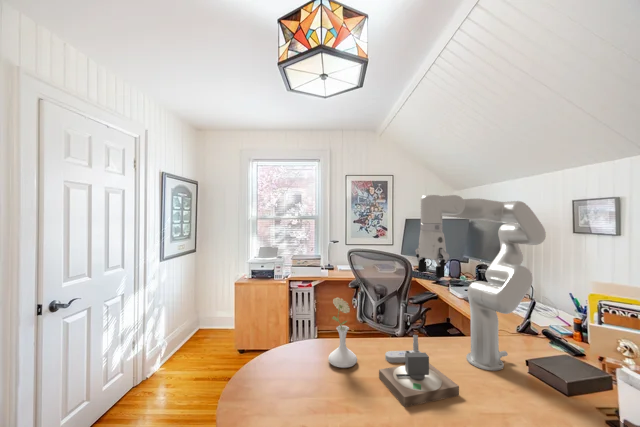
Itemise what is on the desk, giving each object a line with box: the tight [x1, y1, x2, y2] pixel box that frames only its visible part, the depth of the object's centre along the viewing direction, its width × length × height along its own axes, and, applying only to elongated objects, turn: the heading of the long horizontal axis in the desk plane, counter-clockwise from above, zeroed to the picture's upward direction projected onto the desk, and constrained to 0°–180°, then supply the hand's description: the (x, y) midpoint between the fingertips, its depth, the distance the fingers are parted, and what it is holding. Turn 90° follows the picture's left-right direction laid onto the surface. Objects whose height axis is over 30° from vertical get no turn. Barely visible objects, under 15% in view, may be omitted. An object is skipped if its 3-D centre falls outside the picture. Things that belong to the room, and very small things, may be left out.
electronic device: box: [384, 334, 423, 364], centre depth 113 cm, size 5×10×15 cm
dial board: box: [378, 362, 460, 408], centre depth 95 cm, size 20×16×3 cm
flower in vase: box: [327, 297, 358, 369], centre depth 111 cm, size 13×11×25 cm
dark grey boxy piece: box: [396, 352, 430, 380], centre depth 95 cm, size 10×5×7 cm, turn 91°
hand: (430, 274), depth 104 cm, fingers open, 9 cm apart
